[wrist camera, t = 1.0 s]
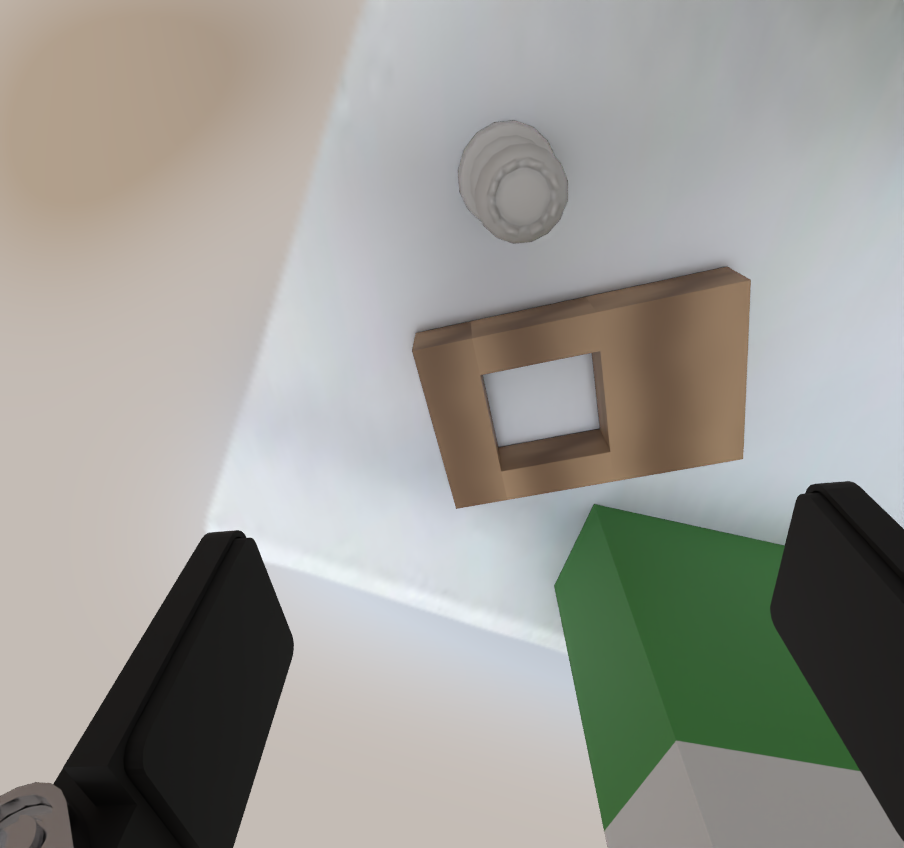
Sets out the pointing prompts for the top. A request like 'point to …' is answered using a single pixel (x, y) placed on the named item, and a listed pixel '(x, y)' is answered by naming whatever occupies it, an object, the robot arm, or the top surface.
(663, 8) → the top surface
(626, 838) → the hardback book
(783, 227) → the top surface
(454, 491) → the socket board
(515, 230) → the rook chess piece
